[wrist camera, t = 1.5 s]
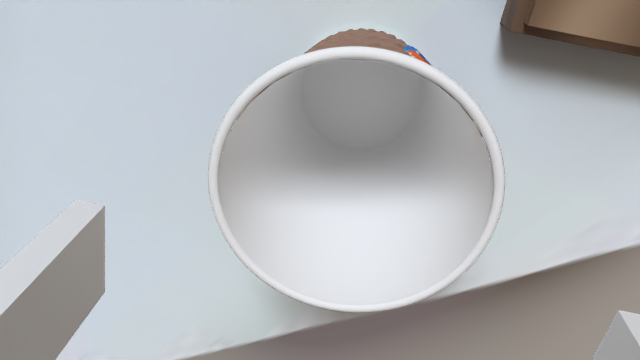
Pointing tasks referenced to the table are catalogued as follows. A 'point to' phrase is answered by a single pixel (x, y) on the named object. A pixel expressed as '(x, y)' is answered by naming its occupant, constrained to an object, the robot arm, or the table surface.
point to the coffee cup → (356, 176)
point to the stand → (579, 22)
